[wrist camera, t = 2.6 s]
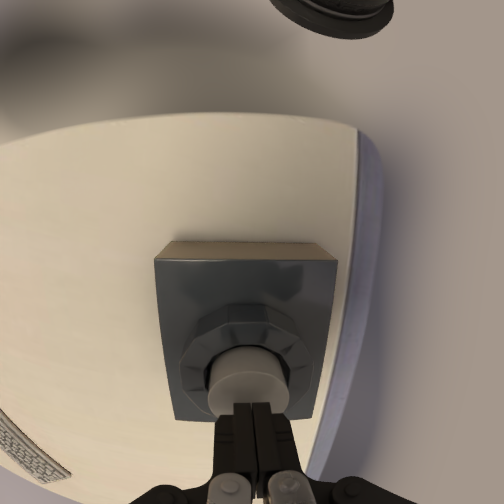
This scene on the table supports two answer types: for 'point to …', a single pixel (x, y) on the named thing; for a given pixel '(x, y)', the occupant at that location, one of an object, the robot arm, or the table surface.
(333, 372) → the table surface
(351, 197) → the table surface
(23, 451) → the keyboard
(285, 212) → the table surface
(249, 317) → the push button box
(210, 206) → the table surface
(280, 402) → the grey cylindrical knob
